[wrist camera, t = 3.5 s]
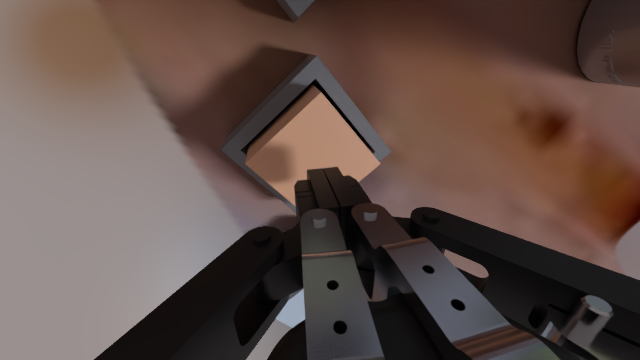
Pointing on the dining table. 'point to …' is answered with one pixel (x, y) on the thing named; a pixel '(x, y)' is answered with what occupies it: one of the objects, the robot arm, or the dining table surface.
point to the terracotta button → (308, 145)
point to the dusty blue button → (293, 309)
